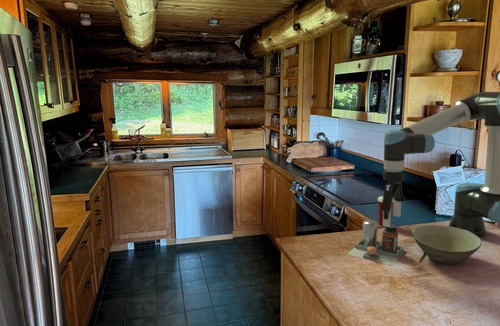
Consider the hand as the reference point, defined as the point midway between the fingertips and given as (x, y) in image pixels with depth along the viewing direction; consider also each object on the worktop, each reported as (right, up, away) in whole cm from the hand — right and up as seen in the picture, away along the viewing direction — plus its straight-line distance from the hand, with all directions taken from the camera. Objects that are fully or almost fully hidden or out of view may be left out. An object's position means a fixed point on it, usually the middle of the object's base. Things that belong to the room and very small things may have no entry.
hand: (391, 221), depth 147 cm
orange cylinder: (-9, -12, -2) cm, 15 cm away
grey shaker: (-7, -12, +8) cm, 16 cm away
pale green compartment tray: (-5, -14, +3) cm, 15 cm away
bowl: (+20, -15, -2) cm, 25 cm away
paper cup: (+10, -8, +35) cm, 37 cm away
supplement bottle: (0, -13, +3) cm, 13 cm away
